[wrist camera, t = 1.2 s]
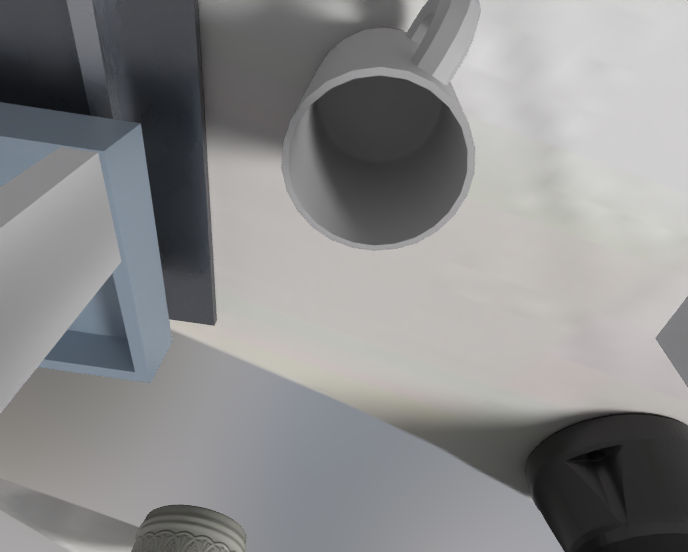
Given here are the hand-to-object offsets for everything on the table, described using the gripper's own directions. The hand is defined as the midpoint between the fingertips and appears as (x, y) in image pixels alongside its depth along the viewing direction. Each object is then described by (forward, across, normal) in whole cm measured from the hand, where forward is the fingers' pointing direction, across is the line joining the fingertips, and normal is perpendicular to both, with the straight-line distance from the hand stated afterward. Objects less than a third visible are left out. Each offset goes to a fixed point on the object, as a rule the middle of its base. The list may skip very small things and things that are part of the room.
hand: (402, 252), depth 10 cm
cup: (+17, 0, 0) cm, 17 cm away
